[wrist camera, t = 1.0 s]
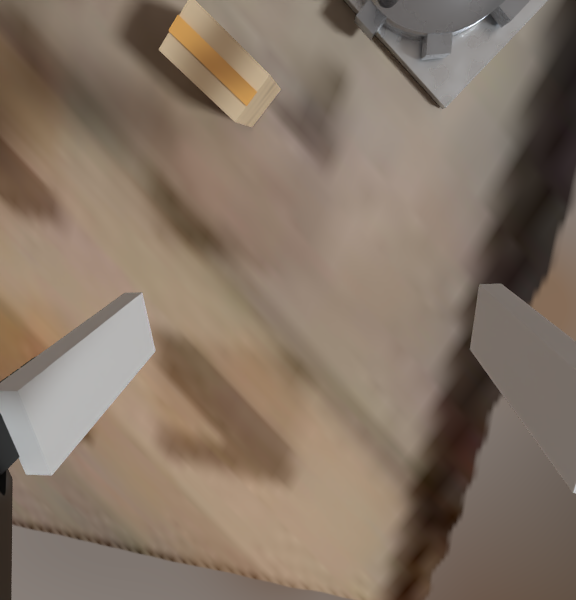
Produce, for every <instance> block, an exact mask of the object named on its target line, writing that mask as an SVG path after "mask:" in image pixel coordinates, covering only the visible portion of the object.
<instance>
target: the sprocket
mask: <svg viewBox="0 0 576 600" xmlns="http://www.w3.org/2000/svg"><path fill="white" fill-rule="evenodd" d="M529 1H530V0H364V2H365V5H364V6H363V7H362V9H361V10H360V11H359V12H358V14H357V15H356V18H355V23H356V24H357V26H358V27H359V28H360V29H361V30H362V31H363V32H364V33H365V34H366V35H367V37H368V38H369V39H370V40H371V39H372V38H373V37H374V35H375V34H376V33H377V32H378V31H379V29H380V28H381V27H382V26H383V25H384V26H386V27H387V28H388V29H390V30H391V31H393V32H395V33H397V34H399V35H401V36H404V37H408V38H411V39H417V40H422V55H421V60H426V59H437V58H445V57H447V56H448V55H449V54H450V53H451V48H452V37H453V35H456V34H459V33H461V32H463V31H465V30H467V29H469V28H471V27H472V26H474V25H475V24H477V23H479V22H480V21H481V20H482V19H484V18H485V17H486V16H487V15H489V14H491V16H492V17H493V18H494V19H495V20H496V22H497V23H498V24H499V25H500V27H501V28H502V27H503V26H504V25H506V24H507V23H509V22H510V21H511V20H512V19H513V18H514V17H515V16H516V15H517V14H518V13H519V12H520V11H521V10H522V9H523V8H524V7H525V6H526V4H527V3H528V2H529Z"/></svg>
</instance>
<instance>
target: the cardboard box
mask: <svg viewBox="0 0 576 600" xmlns="http://www.w3.org/2000/svg"><path fill="white" fill-rule="evenodd" d="M168 31H169V33H168V35H167V36H166V38H165V40H164V41H163V43H162V45H161V46H160V48H159V51H160V52H161V53H162V54H163V55H164V56H166V57H167V58H168V59H169V60H170V61H171V62H172V63H173V64H174V65H175V66H176V67H177V68H178V69H179V70H180V71H181V72H182V73H183V74H185V75H186V76H187V77H188V78H189V79H190V80H191V81H192V82H193V83H194V84H195V85H196V86H197V87H198V88H199V89H200V90H201V91H203V92H204V93H205V94H206V95H207V96H208V97H209V98H210V99H211V100H212V101H213V102H214V103H215V104H216V105H217V106H218V107H219V108H220V109H222V110H223V111H224V112H225V113H226V114H227V115H228V116H229V117H230V118H231V119H232V120H233V121H234V122H236V123H239V124H243V125H246V126H250V127H253V126H254V125H255V123H256V122H257V121H258V119H259V118H260V117H261V115H262V114H263V113H264V111H265V110H266V109H267V107H268V106H269V105H270V103H271V102H272V101H273V99H274V98H275V97H276V95H277V94H278V93H279V92H280V90H281V89H280V87H279V86H278V85H277V83H276V82H275V81H274V80H273V78H272V77H271V76H270V75H269V74H268V73H267V72H266V71H265V70H264V69H263V68H262V67H261V66H260V64H259V63H258V62H257V61H256V60H255V59H254V58H253V57H252V56H251V55H250V54H249V53H248V52H247V51H246V50H245V49H244V48H243V47H242V46H241V45H240V44H239V43H238V42H237V41H236V40H235V39H234V38H233V37H232V36H231V35H230V34H229V33H228V32H227V31H226V30H225V29H224V28H223V27H222V26H221V25H220V24H219V23H218V22H217V21H216V20H215V19H214V18H213V17H212V16H211V15H210V14H209V13H208V12H207V11H206V10H205V9H204V8H203V7H202V6H201V5H200V4H199V3H198V2H197V1H196V0H188V1H187V3H186V5H185V6H184V8H183V10H182V11H181V13H180V15H177V17H176V18H175V20H174V22H173V23H172V25H171V27H170V28H169V30H168Z"/></svg>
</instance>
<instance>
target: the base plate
mask: <svg viewBox="0 0 576 600" xmlns="http://www.w3.org/2000/svg"><path fill="white" fill-rule="evenodd" d="M344 1H345V2H346V3H347V4H348V5H349V6H350V8H351V9H352V10H353V11H354V12H355V13H356V14H358V12H359V11H360V10H361V9H362V7H363V6H364V5H365V2H364V0H344ZM547 1H548V0H530V1H529V2H528V3H527V4H526V6H525V7H524V8H523V9H522V10H521V11H520V12H519V13H518V14H517V15H516V16H515V17H514V18H513V19H512V20H511V21H510V22H509V23H507V24H506V25H504V26H503V27H502V28H501V27H500V25H499V24H498V23H497V22H496V20H495V19H494V18H493V17H492V16H491V14H489V15H487V16H486V17H485V18H484V19H482V20H481V21H480V22H479V23H477V24H475V25H474V26H472V27H471V28H469V29H467V30H465V31H463V32H461V33H459V34H456V35H453V37H452V48H451V53H450V54H449V55H448V56H447V57H445V58H437V59H426V60H421V55H422V40H417V39H411V38H408V37H404V36H401V35H399V34H397V33H395V32H393V31H391V30H390V29H388V28H387V27H386V26H384V25H383V26H382V27H381V28H380V29H379V31H378V32H377V33H376V34H375V35H376V36H377V37H378V39H379V40H380V41H381V42H382V43H383V44H384V45H385V46H386V47H387V48H388V50H389V51H390V52H391V53H392V54H393V55H394V56H395V57H396V58H397V60H398V61H399V62H400V63H401V64H402V65H403V66H404V67H405V68H406V69H407V71H408V72H409V73H410V74H411V75H412V76H413V77H414V78H415V79H416V81H417V82H418V83H419V84H420V85H421V86H422V87H423V88H424V89H425V91H426V92H427V93H428V94H429V95H430V96H431V97H432V98H433V99H434V100H435V102H436V103H437V104H438V105H439V106H440V107H441V108H442V109H443V108H446V107H447V106H448V105H449V104H450V103H451V101H452V100H453V99H454V98H455V97H456V96H457V95H458V94H459V93H460V92H461V91H462V90H463V89H464V88H465V87H466V86H467V85H468V84H469V83H470V82H471V80H472V79H473V78H474V77H475V76H476V75H477V74H478V73H479V72H480V71H481V70H482V69H483V68H484V67H485V66H486V65H487V64H488V63H489V62H490V61H491V59H492V58H493V57H494V56H495V55H496V54H497V53H498V52H499V51H500V50H501V49H502V48H503V47H504V46H505V45H506V44H507V43H508V42H509V41H510V40H511V39H512V37H513V36H514V35H515V34H516V33H517V32H518V31H519V30H520V29H521V28H522V27H523V26H524V25H525V24H526V23H527V22H528V21H529V20H530V19H531V18H532V16H533V15H534V14H535V13H536V12H537V11H538V10H539V9H540V8H541V7H542V6H543V5H544V4H545V3H546V2H547Z"/></svg>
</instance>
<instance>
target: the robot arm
mask: <svg viewBox="0 0 576 600" xmlns="http://www.w3.org/2000/svg"><path fill="white" fill-rule="evenodd" d="M470 350H471V351H472V353H473V354H474V356H475V357H476V358H477V360H478V361H479V363H480V364H481V365H482V367H483V368H484V370H485V371H486V372H487V374H488V375H489V377H490V378H491V379H492V381H493V382H494V384H495V385H496V386H497V388H498V389H499V391H500V392H501V393H502V395H503V396H504V398H505V399H506V400H507V402H508V403H509V405H510V406H511V407H512V409H513V410H514V412H515V413H516V414H517V416H518V417H519V418H520V420H521V421H522V423H523V424H524V425H525V427H526V428H527V429H528V431H529V432H530V434H531V435H532V437H533V438H534V439H535V441H536V442H537V444H538V445H539V446H540V448H541V449H542V450H543V452H544V453H545V455H546V456H547V458H548V459H549V460H550V462H551V463H552V465H553V466H554V467H555V469H556V470H557V472H558V473H559V474H560V476H561V477H562V479H563V480H564V481H565V483H566V484H567V486H568V487H569V488H570V490H571V491H572V493H576V341H574V340H573V339H572V338H571V337H569V336H568V335H567V334H565V333H564V332H563V331H561V330H560V329H559V328H558V327H556V326H555V325H554V324H552V323H551V322H550V321H549V320H547V319H546V318H545V317H543V316H542V315H541V314H540V313H538V312H537V311H536V310H534V309H533V308H532V307H531V306H529V305H528V304H527V303H525V302H524V301H523V300H521V299H520V298H519V297H518V296H516V295H515V294H514V293H512V292H511V291H510V290H509V289H507V288H506V287H505V286H503V285H502V284H479V290H478V297H477V304H476V311H475V318H474V325H473V332H472V339H471V346H470ZM154 352H155V347H154V342H153V338H152V334H151V329H150V325H149V320H148V316H147V311H146V307H145V302H144V298H143V293H142V292H140V293H124V294H122V295H121V296H120V297H118V298H117V299H115V300H114V301H113V302H111V303H110V304H109V305H107V306H106V307H104V308H103V309H102V310H100V311H99V312H97V313H96V314H95V315H93V316H92V317H91V318H89V319H88V320H86V321H85V322H84V323H82V324H81V325H79V326H78V327H77V328H75V329H74V330H73V331H71V332H70V333H68V334H67V335H66V336H64V337H63V338H61V339H60V340H59V341H57V342H56V343H55V344H53V345H52V346H50V347H49V348H48V349H46V350H45V351H44V352H42V353H41V354H39V355H38V356H36V357H34V358H33V359H31V360H30V361H28V362H27V363H26V364H24V365H23V366H21V368H20V369H17V370H16V371H14V372H13V373H12V374H10V376H9V377H6V378H5V379H3V380H2V381H1V382H0V600H11V571H12V570H11V568H12V561H11V560H12V477H11V475H10V472H9V470H8V468H9V467H10V466H11V465H12V464H13V463H14V462H15V461H16V460H17V459H18V458H19V460H20V462H21V464H22V467H23V469H24V471H25V473H26V475H53V473H54V472H55V471H56V470H57V469H58V467H59V466H60V465H61V464H62V463H63V461H64V460H65V459H66V458H67V457H68V455H69V454H70V453H71V452H72V451H73V449H74V448H75V447H76V446H77V445H78V443H79V442H80V441H81V440H82V439H83V437H84V436H85V435H86V434H87V433H88V431H89V430H90V429H91V428H92V427H93V425H94V424H95V423H96V422H97V421H98V419H99V418H100V417H101V416H102V415H103V413H104V412H105V411H106V410H107V409H108V408H109V406H110V405H111V404H112V403H113V402H114V400H115V399H116V398H117V397H118V396H119V394H120V393H121V392H122V391H123V390H124V388H125V387H126V386H127V385H128V384H129V382H130V381H131V380H132V379H133V378H134V376H135V375H136V374H137V373H138V372H139V370H140V369H141V368H142V367H143V366H144V364H145V363H146V362H147V361H148V360H149V358H150V357H151V356H152V355H153V354H154Z"/></svg>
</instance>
